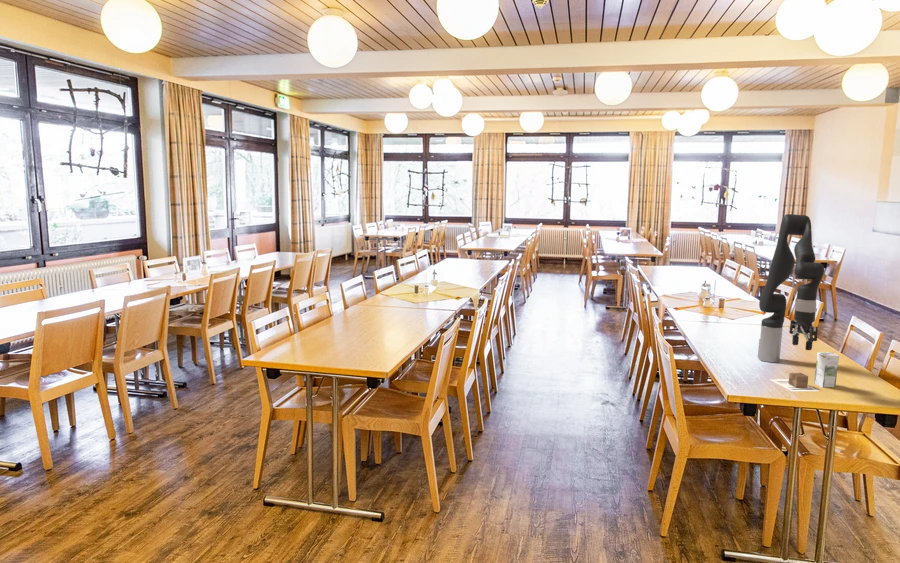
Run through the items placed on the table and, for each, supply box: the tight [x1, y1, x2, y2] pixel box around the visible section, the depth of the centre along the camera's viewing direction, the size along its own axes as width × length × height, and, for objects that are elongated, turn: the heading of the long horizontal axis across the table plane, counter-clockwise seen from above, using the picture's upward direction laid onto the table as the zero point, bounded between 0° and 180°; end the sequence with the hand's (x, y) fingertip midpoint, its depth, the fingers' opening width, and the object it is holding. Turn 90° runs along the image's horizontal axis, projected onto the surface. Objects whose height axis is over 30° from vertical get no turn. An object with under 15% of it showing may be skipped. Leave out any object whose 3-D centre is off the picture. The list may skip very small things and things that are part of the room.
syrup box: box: [813, 351, 840, 389], centre depth 249 cm, size 6×6×14 cm
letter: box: [769, 378, 820, 393], centre depth 250 cm, size 16×12×1 cm
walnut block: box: [788, 372, 809, 388], centre depth 249 cm, size 5×5×5 cm
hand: (801, 347), depth 246 cm, fingers open, 8 cm apart
